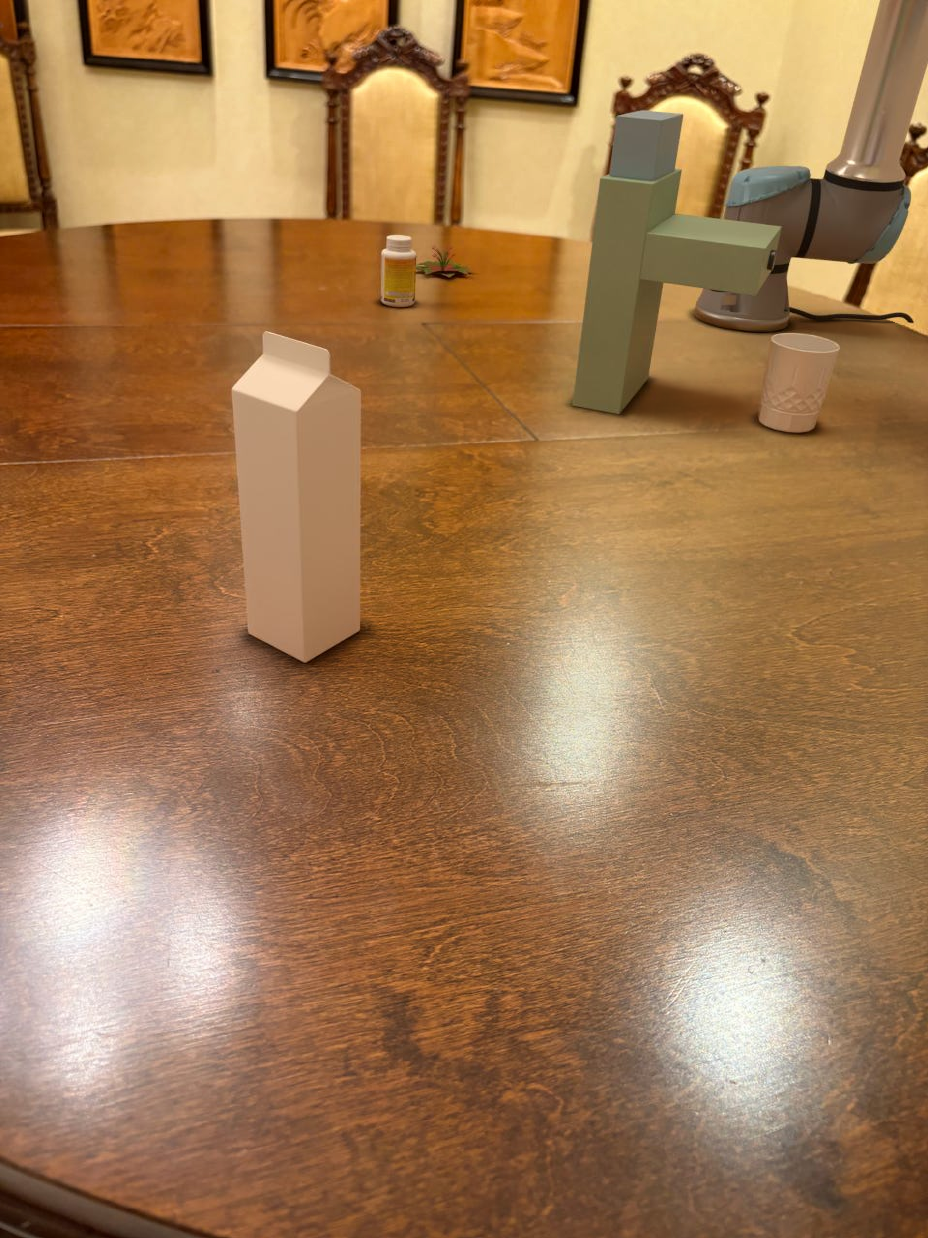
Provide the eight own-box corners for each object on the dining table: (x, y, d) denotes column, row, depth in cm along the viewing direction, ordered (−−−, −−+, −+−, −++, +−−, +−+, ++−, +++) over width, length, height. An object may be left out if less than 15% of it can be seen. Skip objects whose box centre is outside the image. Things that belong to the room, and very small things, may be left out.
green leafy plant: (486, 273, 180) (488, 247, 178) (451, 283, 171) (453, 256, 169) (433, 262, 185) (434, 237, 183) (396, 272, 176) (397, 245, 174)
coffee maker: (749, 396, 127) (809, 124, 110) (731, 435, 114) (795, 134, 98) (605, 371, 133) (641, 108, 116) (572, 405, 120) (607, 116, 103)
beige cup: (822, 438, 115) (844, 355, 110) (754, 430, 116) (773, 347, 111) (815, 416, 122) (835, 337, 117) (751, 408, 123) (768, 329, 118)
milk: (304, 604, 76) (295, 321, 65) (361, 631, 74) (363, 340, 62) (246, 634, 72) (226, 337, 61) (304, 665, 69) (295, 359, 58)
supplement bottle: (420, 306, 156) (422, 240, 151) (388, 308, 154) (389, 241, 149) (406, 298, 161) (408, 233, 155) (375, 300, 158) (376, 234, 153)
